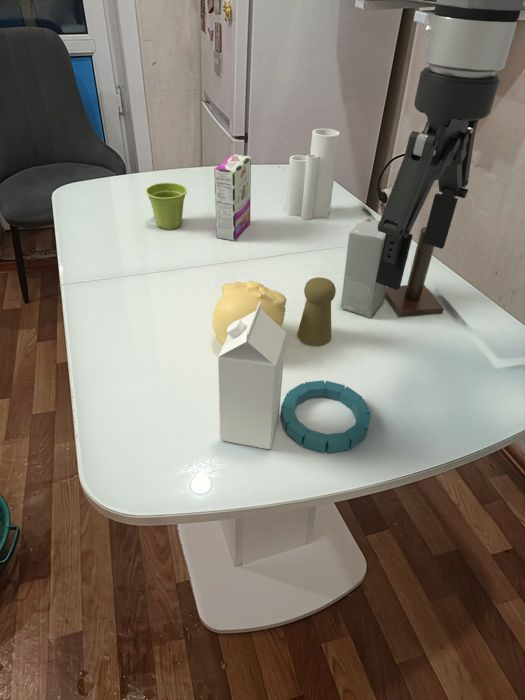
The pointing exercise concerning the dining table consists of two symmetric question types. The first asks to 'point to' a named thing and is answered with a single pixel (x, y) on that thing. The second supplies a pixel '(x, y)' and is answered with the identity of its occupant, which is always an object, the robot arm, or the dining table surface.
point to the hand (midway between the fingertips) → (411, 263)
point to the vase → (313, 177)
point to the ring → (322, 440)
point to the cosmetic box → (363, 269)
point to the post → (415, 286)
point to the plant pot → (167, 204)
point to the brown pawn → (317, 312)
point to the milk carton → (251, 380)
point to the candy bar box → (232, 196)
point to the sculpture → (245, 305)
